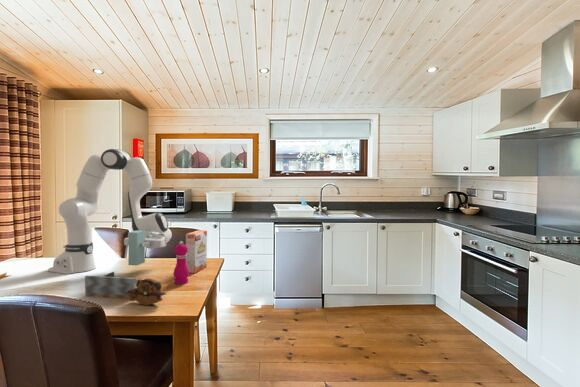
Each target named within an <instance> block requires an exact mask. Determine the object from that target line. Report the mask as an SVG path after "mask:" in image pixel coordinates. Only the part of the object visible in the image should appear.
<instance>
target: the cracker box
mask: <svg viewBox="0 0 580 387" xmlns="http://www.w3.org/2000/svg"><path fill="white" fill-rule="evenodd" d="M185 245H186V246H187V248H188V251H187V253H186V254H187V255H186V256H187V257H186V264H187V267H188V269H189V274H196V273H198V272H200V271H201V270H204V269H205V268H207V266H208V265H207V260H208V259H207V258H208V254H207V253H208V252H207V251H208V230H201V229H199V230H195V231H192V232H188V233H186V234H185Z"/></svg>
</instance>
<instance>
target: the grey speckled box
mask: <svg viewBox="0 0 580 387" xmlns="http://www.w3.org/2000/svg"><path fill="white" fill-rule="evenodd" d="M137 281H138V280H136V277H121V276H115V271H112V272H110V273H106V274H104V275H85V276H84V292H85V294H84V296H85V297H90V298H91V297H92V298H93V297H94V298H105V299H107V298H108V299H122V300H130V298H129V296H128V293H127V291H129V290H131V289H133V288H137V286H136V284H137Z"/></svg>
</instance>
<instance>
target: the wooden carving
mask: <svg viewBox="0 0 580 387" xmlns="http://www.w3.org/2000/svg"><path fill="white" fill-rule="evenodd" d="M136 281H137V284H136V286H137V288H133V289H131V290H129V291H127V293H128V296H129V298H130V299H129V301H130V302H135V301H136V302H137V303H138V304H140V305H142V306H144V305H145V306H149V305H153V304H157V303H160V302H161V301H163V300H164V299H163V298H162V296H165V295H167V293H166V292H165V291H162V283H161V281H158V280H157V279H154V278H151V277H150V278H145V279H142V278H140V279H138V280H136Z"/></svg>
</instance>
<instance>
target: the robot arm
mask: <svg viewBox="0 0 580 387" xmlns="http://www.w3.org/2000/svg"><path fill="white" fill-rule="evenodd" d="M110 170H114V171H120V170H123V171H125V173H126V175H127V178H128V180H129V184H130V186H129V190H128V192H127V199H128V204H129V205H128V206H129V211H130V218H131V229H132V231H136V230H140V231H145V242H144V243H140V247H144V246H145V249H146V248H147V249H151V250H152V249H156V248H166V247H167V244H168V242H169V241H171V239H172V236H173V233H172V231H171V229H170V228H169V222H168V220H167V217H166V216H165V215H164V214H163V213H161V212H158V211H157V212H155V213H150V214H148V215H145V216H143V215H142V209H141V204H140V202H141V199H142V198H143V197H144V195H146V194H147V193H148V192H149V191H150V190H151V189H152V187H153V178H152V175H151V173H150V169H149V167H148V166H147V164H146V162H145V161H144V158H142V157H138V156H136V157H132V156H131V154H130V153H129V152H127V151H125V150H122V149H118V148H117V149H116V148H108V149H106V150H104V151H103V152H102V154H92V155H90V156H89V158H88V159H87V161H86V162H85V164H84V165H83V167H82V169H81V172H80V175H79V177H78V180H77V181H76V189H77V190H76V196H75V197H72V198H68V199H66V200H64V201H62V202H61V203H60V204H59V206H58V212H59V213H58V214H59V215H60V216H61V217H62V219H63V221H64V224H65V226H66V231H67V244H65V245H64V246H63V247H62V248H63V249H64V248H65V249H64V251H63V252H62V253H61V254H59V255H58V256H57V257H55V258H54V260H53V264H52V267H50V268H48V269H47V272H50V273H58V274H64V275H68V274H69V275H70V274H73V273H74V274H75V273H82V272H84V273H85V272H88V271H89V272H90V271H92V270H94V269H96V264H95V260H94V255H93V254H94V252H93V249H94V243H93V235H92V234H93V233H92V231H93V229H92V226H90V224H89V221H88V217H89V216H92V215H94V213H96V212H97V210H98V198H99V192H100V189H101V187H102V186H103V183H104V180H105V178H106V175H107V174H108V172H109V171H110ZM123 244H124V246H128V237H125V238H123Z"/></svg>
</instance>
